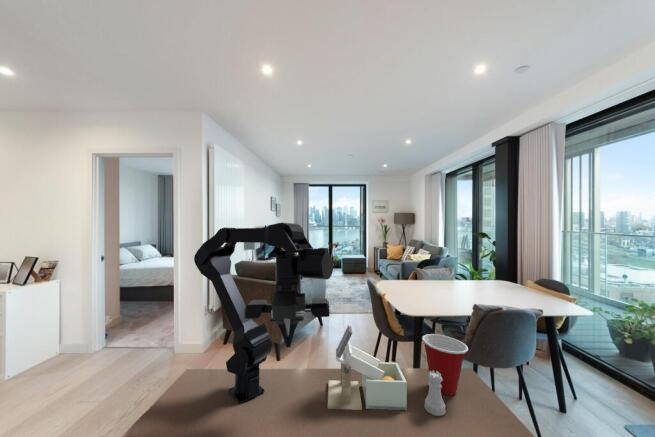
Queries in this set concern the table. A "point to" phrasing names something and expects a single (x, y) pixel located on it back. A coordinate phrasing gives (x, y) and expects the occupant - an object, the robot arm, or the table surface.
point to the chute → (357, 358)
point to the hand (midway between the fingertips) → (288, 346)
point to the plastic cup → (445, 359)
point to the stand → (344, 392)
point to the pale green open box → (386, 389)
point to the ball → (387, 378)
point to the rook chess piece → (435, 395)
